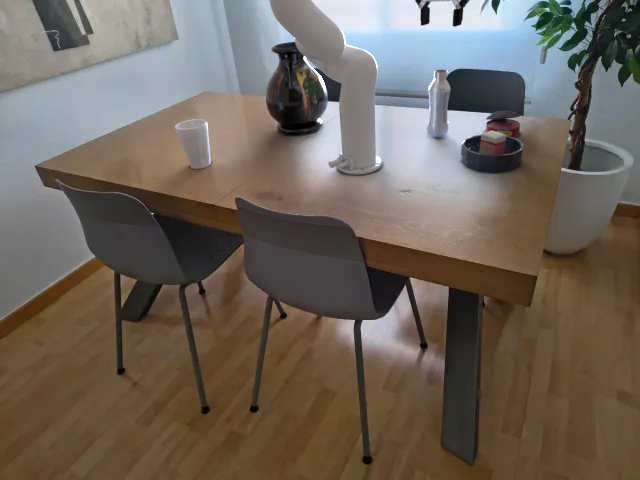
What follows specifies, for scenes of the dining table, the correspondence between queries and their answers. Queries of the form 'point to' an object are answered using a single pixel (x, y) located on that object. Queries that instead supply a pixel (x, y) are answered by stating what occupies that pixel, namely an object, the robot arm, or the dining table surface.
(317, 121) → the amphora vase
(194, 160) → the foam cup
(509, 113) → the canned food
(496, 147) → the small box
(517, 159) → the ring
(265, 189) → the dining table surface
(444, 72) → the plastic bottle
